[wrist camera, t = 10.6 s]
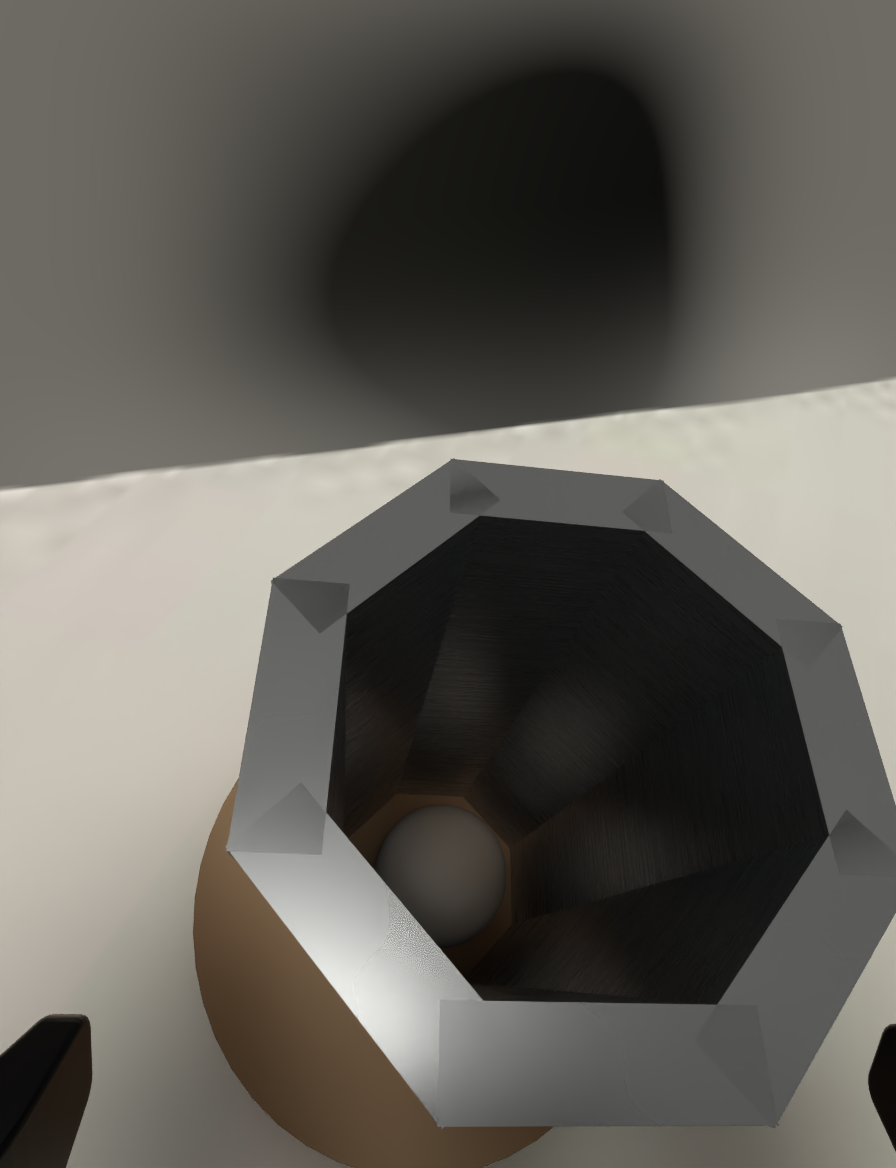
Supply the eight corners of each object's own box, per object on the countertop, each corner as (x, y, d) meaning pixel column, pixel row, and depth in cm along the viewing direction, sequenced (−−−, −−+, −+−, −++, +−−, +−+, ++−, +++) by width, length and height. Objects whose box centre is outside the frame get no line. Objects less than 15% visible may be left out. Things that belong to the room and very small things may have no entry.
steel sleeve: (544, 1019, 16) (995, 1127, 5) (297, 1016, 15) (176, 1130, 4) (533, 773, 18) (802, 494, 8) (324, 762, 18) (294, 441, 7)
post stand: (390, 1313, 14) (411, 1467, 9) (114, 862, 17) (38, 825, 13) (711, 916, 18) (824, 899, 14) (445, 622, 21) (470, 537, 17)
